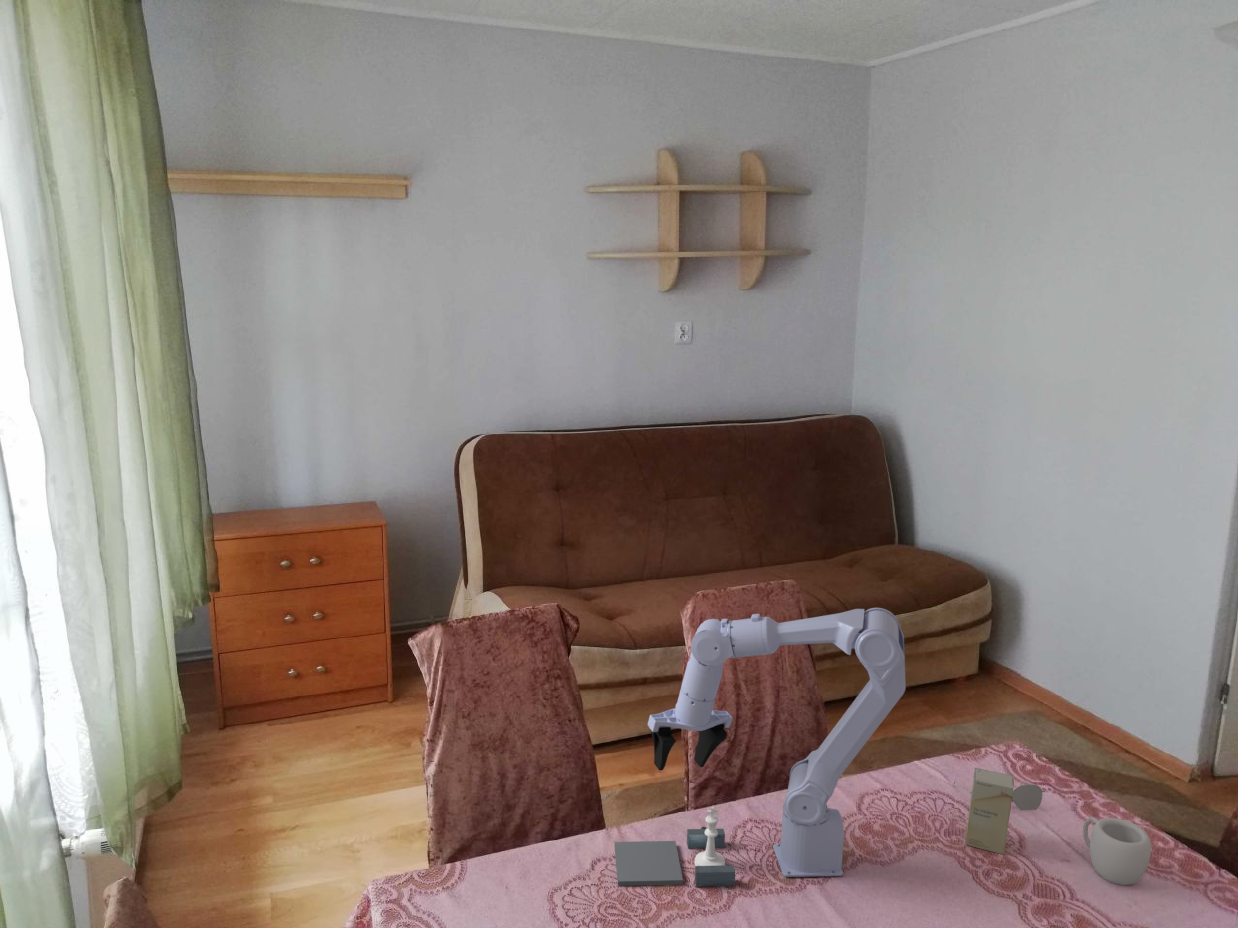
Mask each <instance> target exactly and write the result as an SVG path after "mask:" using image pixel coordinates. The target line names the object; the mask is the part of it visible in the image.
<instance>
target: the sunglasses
mask: <svg viewBox="0 0 1238 928" xmlns="http://www.w3.org/2000/svg"><path fill="white" fill-rule="evenodd" d="M1024 782H1027V784H1023V783H1024ZM955 783H956V784H957V785H959V787H961V788H962V789H963V790H965V792H967V793H969V794H971V793H972V791H969V790H968V789H967V788H965V787H964V786H962V785H961V784H959V782H957V781H954V782H953V784H952V787H954V786H955ZM1043 793H1046V790H1045V789H1043V788H1041V786H1040V785H1039V784H1038V785H1037V784H1033V783H1031V782H1030V781H1028V780H1026V779H1024V780H1022V781H1021V782H1020V785H1018V786H1017V787H1015V788H1013V795H1012V802H1011V803H1014V805H1015V807H1017V808H1018V809H1019V810H1020V811H1032V810H1033V811H1034V810H1035V811H1036V810H1038V809H1039V807H1040V806H1041V803H1042V801H1043Z"/></svg>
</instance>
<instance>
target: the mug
mask: <svg viewBox="0 0 1238 928" xmlns="http://www.w3.org/2000/svg"><path fill="white" fill-rule="evenodd" d="M1092 822H1094V825H1093V827H1092V831H1091V833H1090V838H1089V825H1090V823H1092ZM1082 836H1083V840H1084V842H1085V844H1086V845H1087V847H1088V848H1089V855H1090V860H1091V863H1092V864H1091V865H1092V867H1093V868H1094V870H1095V871H1096V873H1097V875H1099V876H1100V877H1101V878H1102V879H1105V880H1106V881H1107V882H1110V883H1112V884H1116V885H1120V886H1131V885H1134V884H1136V883H1138V882H1139V881H1141V879H1142V877H1144V875H1145V874H1146V871H1147V869H1148V867H1149V864H1150V860H1151V856H1152V842H1151V839H1150V837H1149V834H1148V833H1147V832H1146V830H1144V829H1143V828H1142V827H1140V826H1139V825H1138V824H1135V823H1133V822H1130V821H1128V820H1126V819H1125V820H1124V819H1121V818H1117V817H1116V818H1115V817H1105V818H1101V819H1098V818H1097V817H1094V816H1089V817H1088V818H1087V819H1085V820H1084V823H1083V827H1082Z"/></svg>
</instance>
